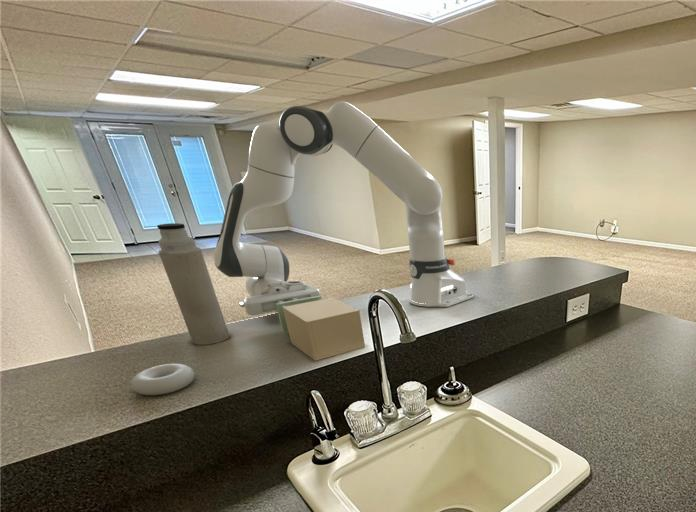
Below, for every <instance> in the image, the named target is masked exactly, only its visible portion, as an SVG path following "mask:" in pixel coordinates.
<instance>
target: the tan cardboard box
mask: <svg viewBox="0 0 696 512" xmlns="http://www.w3.org/2000/svg"><path fill="white" fill-rule="evenodd" d="M282 308H283V312H284V316H285V320H286V324H287V328H288V331H289V332H288V334H289V340H290V343H291V345H293V346H294V347H296V348H298V349H299V350H300V351H301V352H302V353H304V354H305V355H306V356H308V357H310V358H311V359H312V360H314V361H315V362H317V361H320V360H323V359H327V358H331V357H334V356H337V355H340V354H345V353H348V352H351V351H355V350H357V349H361V348H365V347H366V343H365V338H364V332H363V331H364V330H363V325H362V320H361V313H360V310H359V309H357V308H355V307H353V306H351V305H349V304H347V303H344V302H342V301H341V300H339V299H337V298H334V297H328V298H322V300H317V301H312V302H306V303H301V304H296V305H291V306H286V307H282Z"/></svg>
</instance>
